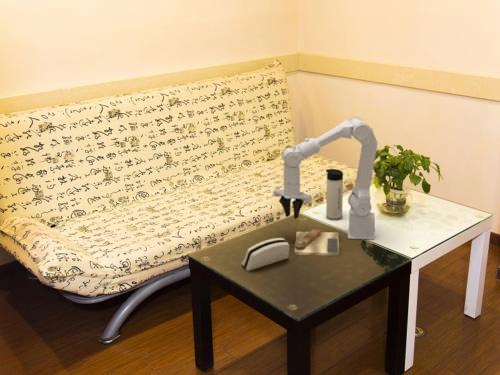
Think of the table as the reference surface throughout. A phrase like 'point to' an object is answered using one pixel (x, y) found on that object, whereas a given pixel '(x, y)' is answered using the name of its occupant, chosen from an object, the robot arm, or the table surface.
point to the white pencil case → (266, 253)
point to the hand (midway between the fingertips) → (292, 216)
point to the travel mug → (334, 194)
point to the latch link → (307, 239)
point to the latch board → (317, 244)
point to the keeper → (332, 245)
